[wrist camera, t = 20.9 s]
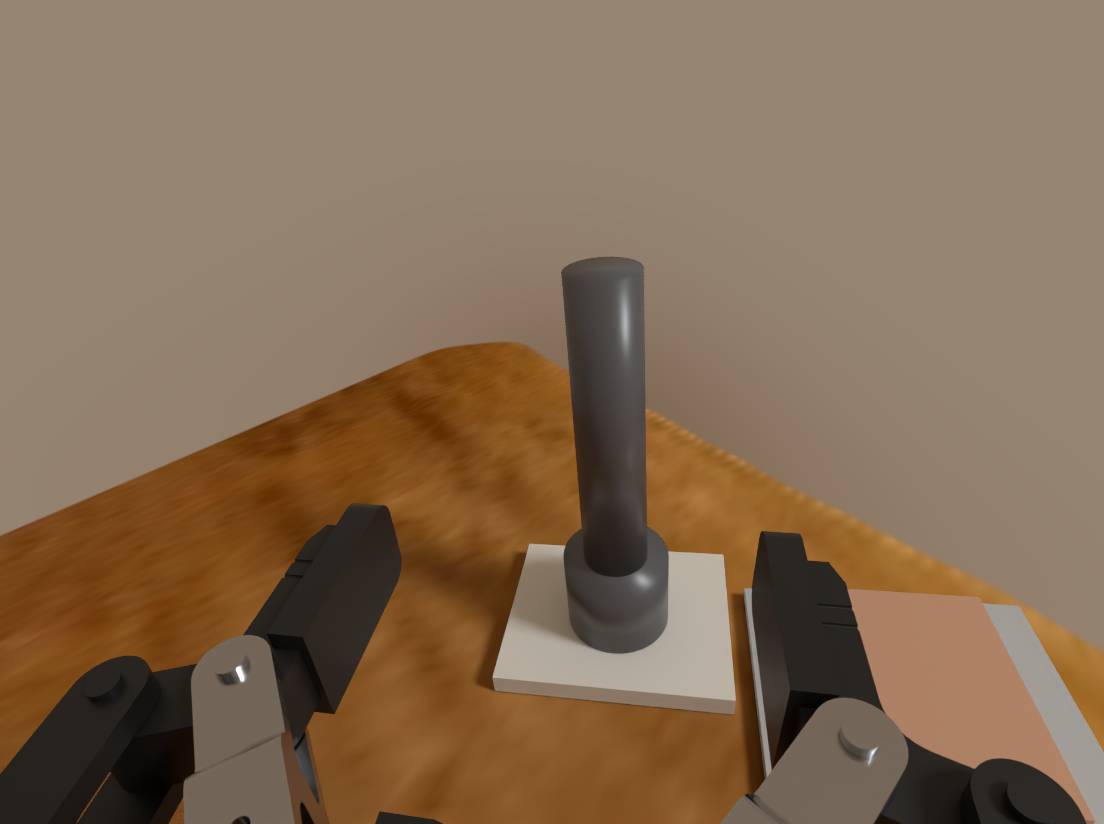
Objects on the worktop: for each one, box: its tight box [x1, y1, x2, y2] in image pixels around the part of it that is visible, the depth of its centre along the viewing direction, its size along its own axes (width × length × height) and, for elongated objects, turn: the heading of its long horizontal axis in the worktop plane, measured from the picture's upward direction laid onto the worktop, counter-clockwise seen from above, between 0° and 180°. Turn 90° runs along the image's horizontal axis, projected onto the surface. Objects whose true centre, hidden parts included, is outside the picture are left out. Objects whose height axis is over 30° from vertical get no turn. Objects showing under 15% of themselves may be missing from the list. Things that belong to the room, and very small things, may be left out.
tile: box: [847, 589, 1095, 824], centre depth 27 cm, size 8×2×10 cm
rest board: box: [492, 544, 736, 715], centre depth 33 cm, size 11×9×1 cm
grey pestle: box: [561, 257, 669, 654], centre depth 28 cm, size 5×5×18 cm
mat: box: [744, 588, 1104, 824], centre depth 27 cm, size 13×14×1 cm
